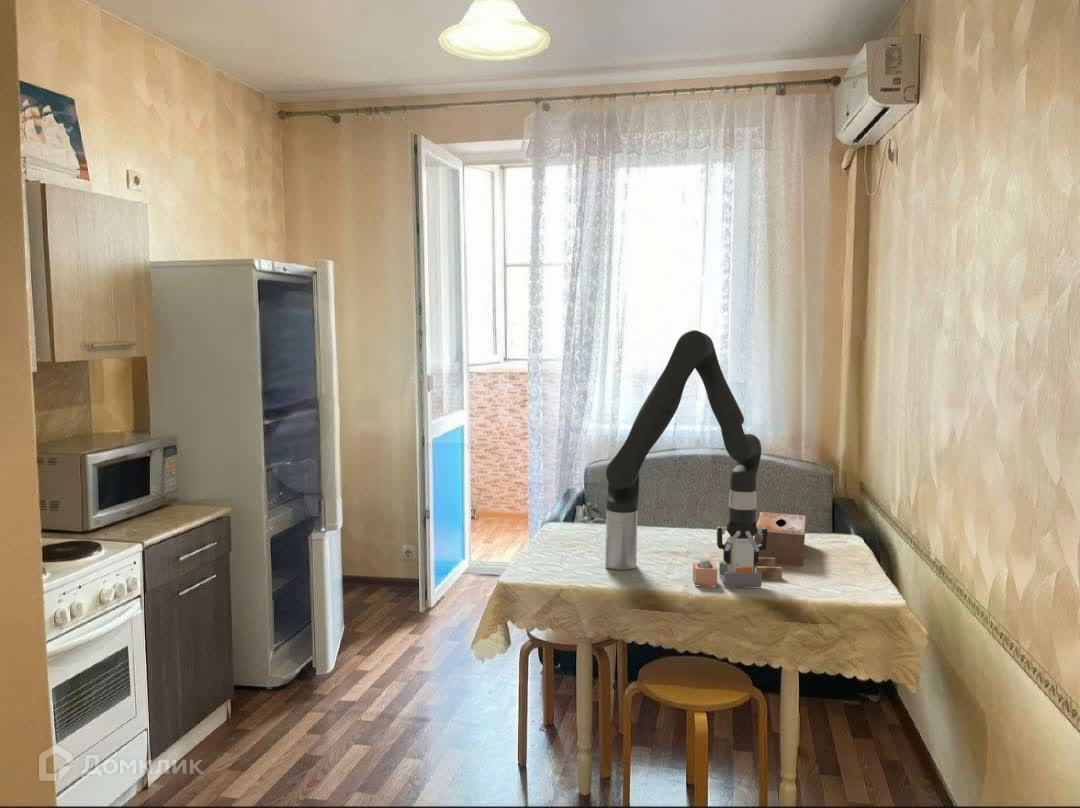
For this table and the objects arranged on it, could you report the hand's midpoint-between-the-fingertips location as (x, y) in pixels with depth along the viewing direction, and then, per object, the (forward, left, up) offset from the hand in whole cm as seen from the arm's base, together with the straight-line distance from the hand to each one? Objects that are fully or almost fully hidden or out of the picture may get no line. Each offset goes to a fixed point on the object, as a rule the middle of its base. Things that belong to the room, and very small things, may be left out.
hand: (740, 563), depth 233 cm
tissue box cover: (+18, +31, -6) cm, 36 cm away
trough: (+9, +9, -5) cm, 14 cm away
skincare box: (0, 0, -5) cm, 5 cm away
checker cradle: (0, 0, -5) cm, 5 cm away
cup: (-10, -2, -5) cm, 12 cm away
